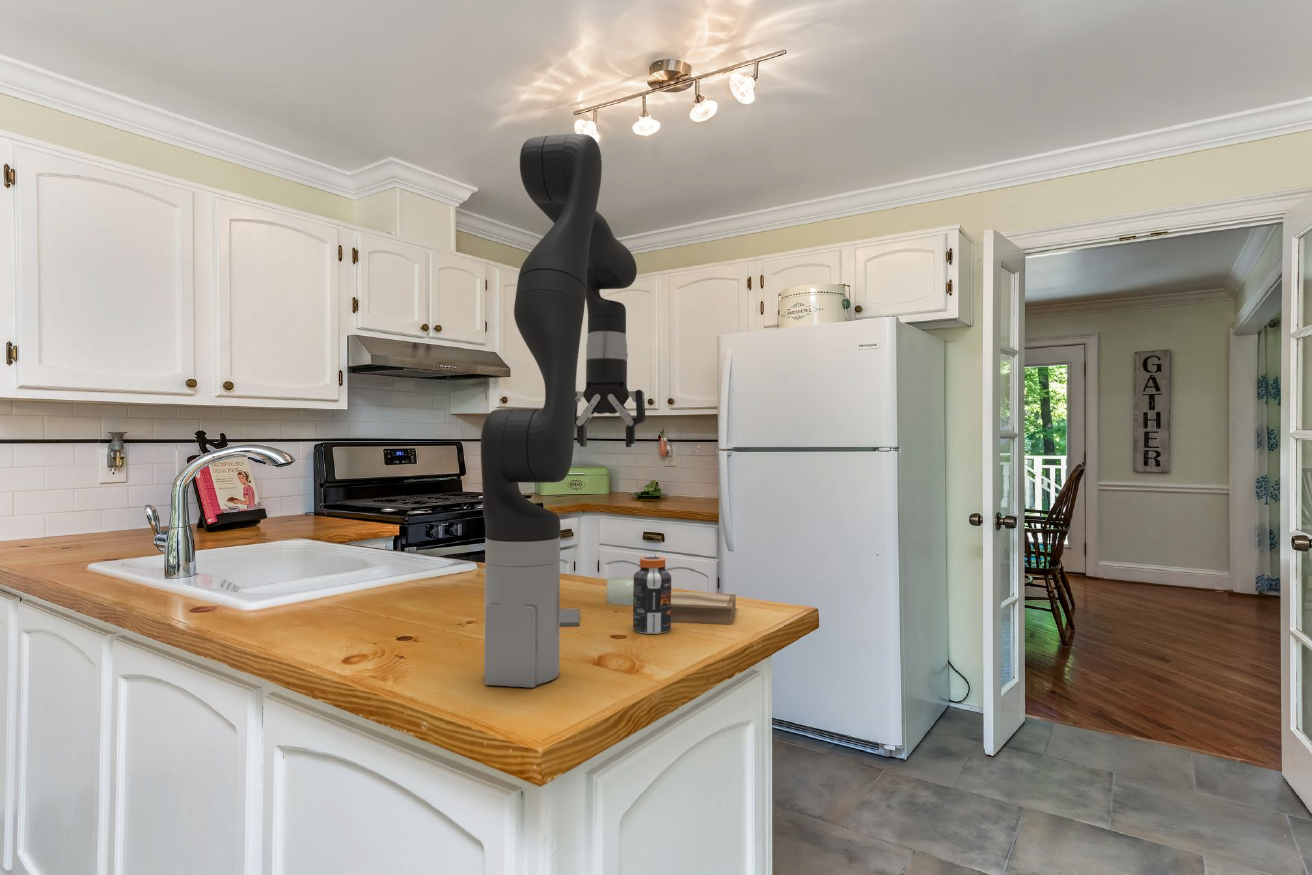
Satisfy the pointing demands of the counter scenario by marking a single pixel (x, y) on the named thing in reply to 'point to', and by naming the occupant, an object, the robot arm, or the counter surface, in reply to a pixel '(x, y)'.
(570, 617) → the coaster
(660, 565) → the pill bottle
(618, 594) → the pale green puck
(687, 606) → the riser
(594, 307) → the robot arm
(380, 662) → the counter surface
